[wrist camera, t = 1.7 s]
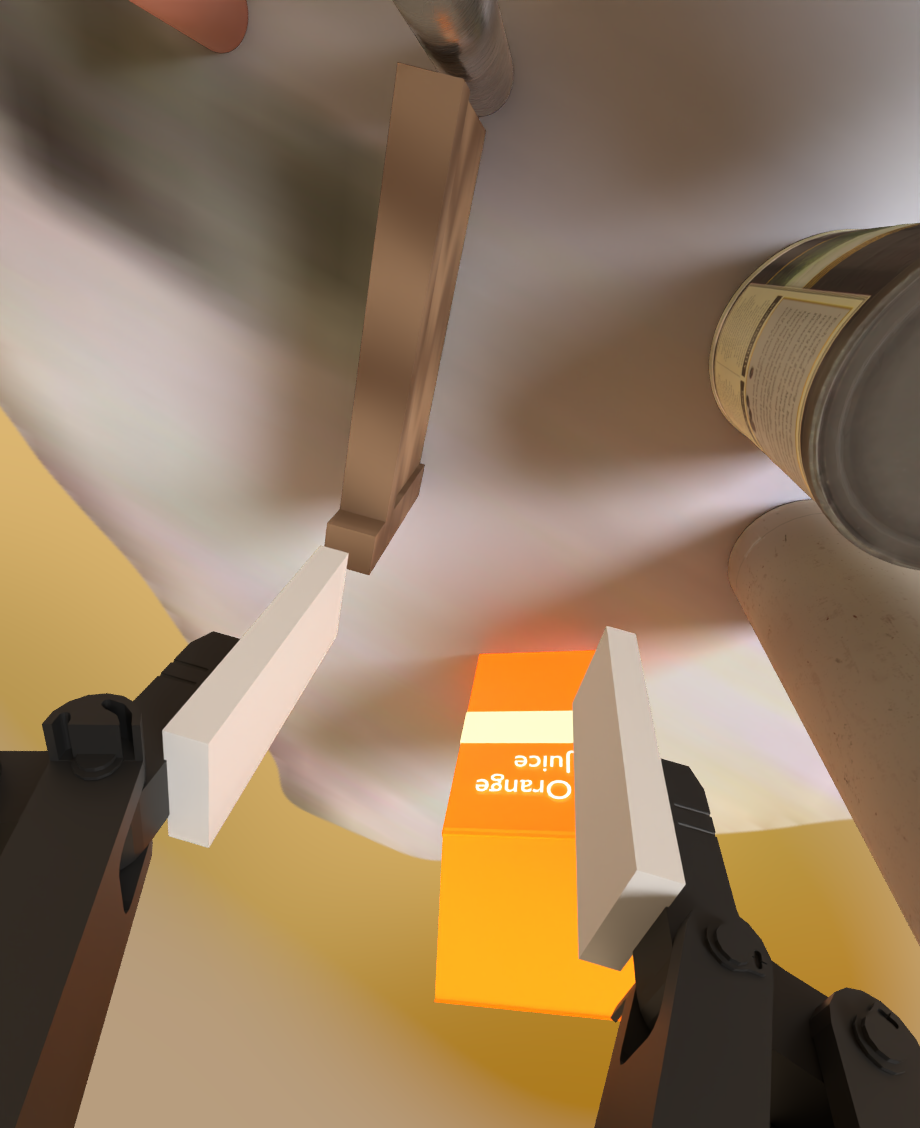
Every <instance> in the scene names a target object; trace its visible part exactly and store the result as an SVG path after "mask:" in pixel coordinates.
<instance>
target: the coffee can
mask: <svg viewBox="0 0 920 1128" xmlns="http://www.w3.org/2000/svg"><path fill="white" fill-rule="evenodd" d="M709 376H710V382H711V388H712V392H713V394H714V397H715V400H716V402H717V405H718V407H719V408H720V410H721V412H722V413H723V415H724V416H725V417H726V419H727V420H728V421H729V422H730V423H731V424H732V425H733V426H734V427H735V428H736V429H737V430H738V431H739V432H740V433H742V434H744V435H745V436H747V437H748V438H749V439H750V440H751V441H752V442H753V443H754V444H755V445H756V446H757V447H758V448H759V449H761V450H762V451H763V452H764V453H765V454H766V455H767V456H768V457H769V458H770V459H771V460H772V461H773V462H774V463H775V464H776V465H777V466H778V467H779V468H780V469H781V470H782V471H783V472H784V473H785V474H787V475H788V476H789V477H790V478H791V479H792V480H793V481H794V482H795V483H796V484H797V485H798V486H799V487H800V488H801V489H802V490H803V491H804V492H805V493H806V494H807V495H808V496H809V497H810V498H811V499H812V500H814V501H815V502H816V503H817V505H818V506H819V508H820V509H821V511H822V513H823V514H824V515H825V516H826V518H827V519H828V520H829V521H830V523H831V524H832V525H833V526H834V527H835V528H836V529H837V531H838V532H839V533H840V534H842V535H843V536H844V537H845V538H846V539H847V540H848V541H849V542H851V543H852V544H853V545H855V546H856V547H858V548H859V549H861V550H862V551H864V552H866V553H867V554H869V555H871V556H873V557H876V558H878V559H881V560H883V561H886V562H888V563H891V564H894V565H897V566H900V567H904V568H909V569H913V570H919V571H920V223H914V224H902V225H896V226H888V227H879V228H871V229H845V230H835V231H830V232H826V233H821V234H818V235H815V236H812V237H809V238H806V239H804V240H801V241H799V242H797V243H795V244H793V245H791V246H789V247H787V248H786V249H784V250H782V251H781V252H779V253H777V254H776V255H774V256H773V257H771V258H770V259H769V260H768V261H766V262H765V263H764V264H763V265H761V266H760V267H759V268H758V269H757V270H756V271H755V272H754V273H752V274H751V275H750V276H749V278H748V279H747V280H746V281H745V282H744V283H743V284H742V285H741V286H740V287H739V289H738V290H737V291H736V292H735V294H734V295H733V297H732V299H731V300H730V302H729V303H728V305H727V307H726V308H725V310H724V312H723V314H722V316H721V318H720V320H719V323H718V325H717V328H716V330H715V334H714V337H713V341H712V345H711V351H710V358H709Z"/></svg>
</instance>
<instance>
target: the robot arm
mask: <svg viewBox="0 0 920 1128" xmlns="http://www.w3.org/2000/svg"><path fill="white" fill-rule="evenodd" d="M348 555H349V553H346V552H342V551H339V550H335V549H332V548H328V547H325V546H321V545H320V547H319V548H318V549H317V550H316V551H315V552H314V554H313V555H312V556H311V557H310V558H309V559H308V561H307V562H306V563H305V564H304V565H303V566H302V568H301V569H300V570H299V571H298V572H297V574H296V575H295V576H294V577H293V578H292V579H291V581H290V582H289V583H288V584H287V585H286V586H285V588H284V589H283V590H282V591H281V592H280V593H279V595H278V596H277V597H276V598H275V599H274V600H273V602H272V603H271V604H270V605H269V606H268V607H267V609H266V610H265V611H264V612H263V613H262V614H261V616H260V617H259V618H258V619H257V620H256V621H255V623H254V624H253V625H252V626H251V627H250V628H249V630H248V631H247V632H246V633H245V634H244V635H243V637H242V638H241V639H238V638H235V637H231V636H228V635H224V634H221V633H217V632H214V631H213V632H211V633H209V634H207V635H205V636H203V637H201V638H199V639H197V640H195V641H193V642H191V643H190V644H189V645H188V646H187V647H186V648H185V649H184V650H183V651H182V652H181V653H180V654H179V655H178V656H177V657H176V658H175V659H174V662H173V663H170V664H169V665H168V666H167V667H166V668H165V669H164V671H162V672H161V675H160V676H157V677H156V678H155V680H153V681H152V683H151V684H150V685H149V686H148V687H147V688H146V689H145V690H144V691H143V692H142V693H141V694H140V695H139V696H138V697H137V698H136V699H135V700H134V701H131V700H129V699H127V698H126V697H124V696H120V695H113V694H107V693H106V694H96V695H87V696H84V697H81V698H78V699H75V700H72V701H69V702H68V703H66V704H64V705H63V706H61V707H59V708H58V709H56V710H54V711H53V712H52V713H51V714H50V715H49V717H48V718H47V719H46V720H45V721H44V722H43V724H42V727H43V731H44V736H45V741H46V745H47V750H48V751H0V1128H74V1126H75V1122H76V1119H77V1115H78V1112H79V1108H80V1105H81V1101H82V1098H83V1094H84V1091H85V1087H86V1084H87V1080H88V1077H89V1073H90V1070H91V1066H92V1063H93V1059H94V1056H95V1052H96V1049H97V1045H98V1042H99V1038H100V1035H101V1031H102V1028H103V1024H104V1021H105V1017H106V1014H107V1010H108V1007H109V1003H110V1000H111V996H112V993H113V989H114V985H115V982H116V979H117V975H118V972H119V968H120V965H121V961H122V958H123V955H124V951H125V947H126V944H127V941H128V937H129V934H130V930H131V927H132V923H133V919H134V916H135V912H136V909H137V906H138V902H139V898H140V895H141V892H142V888H143V884H144V881H145V877H146V874H147V870H148V867H149V864H150V860H151V856H152V844H153V842H152V839H153V837H154V836H155V834H156V833H157V832H158V830H159V829H160V828H161V826H162V825H163V823H164V822H165V821H166V819H167V818H168V831H169V832H168V833H169V836H171V837H174V838H177V839H181V840H184V841H187V842H191V843H194V844H197V845H201V846H204V847H208V848H209V847H210V845H211V843H212V842H213V840H214V838H215V837H216V835H217V833H218V832H219V830H220V828H221V827H222V825H223V823H224V822H225V820H226V818H227V817H228V815H229V814H230V812H231V810H232V809H233V807H234V805H235V803H236V802H237V800H238V799H239V797H240V795H241V794H242V792H243V790H244V789H245V787H246V785H247V784H248V782H249V780H250V779H251V777H252V775H253V774H254V772H255V770H256V769H257V767H258V766H259V764H260V762H261V760H262V759H263V757H264V756H265V754H266V752H267V751H268V749H269V747H270V746H271V744H272V742H273V741H274V739H275V737H276V736H277V734H278V732H279V731H280V729H281V727H282V726H283V724H284V722H285V721H286V719H287V717H288V716H289V714H290V713H291V711H292V709H293V708H294V706H295V704H296V703H297V701H298V699H299V698H300V696H301V694H302V693H303V691H304V689H305V688H306V686H307V684H308V683H309V681H310V679H311V678H312V676H313V674H314V673H315V671H316V669H317V668H318V666H319V665H320V663H321V661H322V660H323V658H324V656H325V655H326V653H327V651H328V650H329V648H330V646H331V645H332V643H333V641H334V640H335V638H336V636H337V631H338V624H339V617H340V610H341V603H342V597H343V590H344V583H345V576H346V569H347V562H348ZM572 710H573V751H574V792H575V834H576V875H577V917H578V958H579V959H580V960H584V961H587V962H590V963H594V964H597V965H600V966H604V967H607V968H610V969H614V970H617V971H621V970H622V969H623V967H624V966H625V965H626V963H627V962H628V961H629V959H630V958H631V957H632V955H633V962H634V972H635V983H634V985H633V986H632V987H631V988H630V990H629V991H628V992H627V993H626V995H625V996H624V997H623V999H622V1000H621V1001H620V1002H619V1004H618V1005H617V1006H616V1008H615V1010H614V1012H613V1013H612V1015H611V1017H610V1019H612V1020H613V1021H615V1022H617V1021H618V1020H619V1018H620V1017H621V1016H622V1017H621V1021H620V1025H619V1029H618V1033H617V1037H616V1041H615V1046H614V1049H613V1053H612V1058H611V1062H610V1066H609V1070H608V1074H607V1078H606V1082H605V1086H604V1090H603V1094H602V1098H601V1102H600V1107H599V1111H598V1115H597V1119H596V1123H595V1127H594V1128H920V1046H919V1044H918V1042H917V1040H916V1039H915V1037H914V1036H913V1035H912V1034H911V1033H910V1031H909V1030H908V1029H907V1027H906V1026H905V1025H904V1023H903V1022H902V1021H901V1020H900V1018H899V1017H898V1016H896V1015H895V1014H894V1013H893V1012H892V1011H891V1010H890V1009H889V1008H887V1007H886V1006H885V1005H884V1004H883V1003H882V1002H881V1001H879V1000H877V999H876V998H874V997H872V996H870V995H869V994H867V993H865V992H863V991H861V990H856V989H851V988H844V989H841V990H839V991H836V992H834V993H833V994H832V995H831V996H830V997H827V996H825V995H823V994H822V993H820V992H819V991H817V990H816V989H814V988H812V987H811V986H809V985H808V984H806V983H804V982H803V981H801V980H800V979H798V978H796V977H795V976H793V975H792V974H790V973H788V972H787V971H785V970H784V969H782V968H781V967H780V966H778V965H777V964H775V963H774V962H773V961H771V958H770V956H769V954H768V952H767V950H766V948H765V946H764V944H763V942H762V940H761V939H760V937H759V936H758V935H757V934H756V933H755V931H754V930H753V929H752V928H751V927H750V925H749V924H748V923H747V922H745V921H744V920H743V919H742V918H740V917H739V915H738V912H737V910H736V906H735V903H734V899H733V895H732V891H731V888H730V885H729V880H728V877H727V873H726V869H725V866H724V862H723V858H722V854H721V851H720V847H719V843H718V840H717V837H715V828H714V825H713V821H712V817H710V810H709V806H708V803H707V799H706V795H705V791H704V789H703V787H702V786H701V784H700V783H699V781H698V780H697V778H696V777H695V775H694V774H693V772H692V771H691V769H690V768H689V767H688V766H685V765H681V764H678V763H675V762H671V761H668V760H664V759H661V758H660V753H659V748H658V743H657V738H656V733H655V728H654V723H653V718H652V713H651V708H650V703H649V698H648V693H647V688H646V683H645V678H644V673H643V668H642V663H641V658H640V653H639V648H638V643H637V638H636V634H634V633H631V632H627V631H624V630H620V629H616V628H613V627H609V626H606V628H605V631H604V633H603V635H602V637H601V640H600V642H599V644H598V646H597V649H596V651H595V653H594V655H593V658H592V660H591V662H590V664H589V667H588V669H587V671H586V673H585V676H584V678H583V680H582V682H581V685H580V687H579V689H578V691H577V694H576V696H575V698H574V700H573V703H572Z"/></svg>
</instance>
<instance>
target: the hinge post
mask: <svg viewBox="0 0 920 1128" xmlns="http://www.w3.org/2000/svg"><path fill="white" fill-rule="evenodd" d="M393 2H394V3H395V5H396V6H397V8H398V10H399V11H400V13H401V14H402V16H403V17H404V19H405V21H406V22H407V24H408V25H409V27H410V28H411V30H412V31H413V33H414V35H415V36H416V38H417V39H418V41H419V42H420V44H421V45H422V47H423V49H424V50H425V52H426V53H427V55H428V56H429V58H430V59H431V61H432V63H433V64H434V66H435V67H436V69H437V70H438V72H439V73H442V74H446V75H450V76H454V77H458V78H462V79H464V80H465V82H466V84H467V86H468V88H469V89H470V95H469V102H470V104H471V106H472V108H473V109H474V111H475V113H476V115H477V116H487V115H490V114H492V113H494V112H495V111H497V110H498V109H499V108H500V107H501V106H502V105H503V104H504V103H505V101H506V100H507V98H508V96H509V94H510V91H511V88H512V85H513V77H514V69H513V62H512V58H511V54H510V50H509V46H508V42H507V38H506V34H505V30H504V25H503V21H502V17H501V13H500V9H499V5H498V1H497V0H393Z"/></svg>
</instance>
